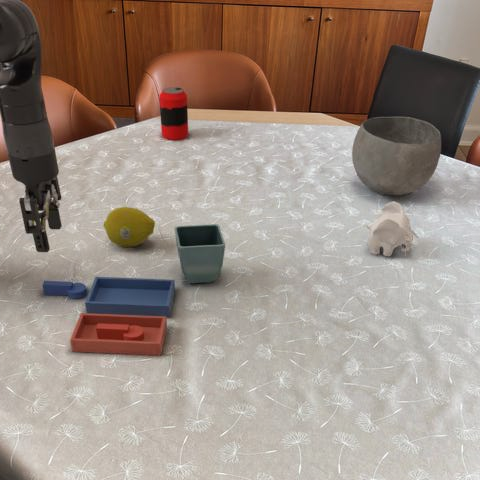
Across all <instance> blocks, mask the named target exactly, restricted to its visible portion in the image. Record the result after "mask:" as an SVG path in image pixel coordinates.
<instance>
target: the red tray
mask: <svg viewBox="0 0 480 480" xmlns="http://www.w3.org/2000/svg"><path fill="white" fill-rule="evenodd" d="M167 318H168V317H165V316H140V315H115V314H91V313H87V312H81V313H80V315H79V317H78V320H77V321H76V324H75V327H74V329H73V332H72V335H71V337H70V339H69V341H70V347H71V352H73V353H74V352H75V353H99V354H120V355H121V354H124V355H145V356H146V355H147V356H162V353H163V349H164V345H165V339H166V334H167V330H168V320H167ZM98 323H100V324H124V325H129V326H132V325H136V326H140V327H142V328H143V330H144V339H143V340H142V341H126V340H118V339H98V338H97V331H96V327H97V324H98Z"/></svg>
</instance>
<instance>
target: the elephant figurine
mask: <svg viewBox="0 0 480 480" xmlns="http://www.w3.org/2000/svg"><path fill="white" fill-rule="evenodd" d="M404 211H405V210H404V208H403V206H402V205H401V203H399V202H397V201H390V202H388V203H386V204H385V205H384V206H383V207H382V208H381V210H380V211H379V214H378V217H377V218H376V219H375V220H374V221H373V223H372V225H370V224H366V223H363V226H365V227H366V228H367V229H369V233H368V237H367V247H368V250H369V253H370V254H373V255H379V254H380V252H381V248H382V249H383V251H382V254H383V256H385V257H391V256H392V255H393V252H394V249H396V248H397V247H398V246H400V251H401V252H404V253H407V252H408V251H409V250H411V248H412V247H413V248H415V249H418V247H417V246H416V245H415V244H414V243H413V241H414V236H415V238H416V239H418V240H421V239H420V237H419V236H418V234H417V233H416V232H415V231H414V229H412V228H411V227H412V226H411V222H410V218H409V216H408V215H406V214H405V212H404Z"/></svg>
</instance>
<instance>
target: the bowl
mask: <svg viewBox="0 0 480 480" xmlns="http://www.w3.org/2000/svg"><path fill="white" fill-rule="evenodd" d="M351 149H352V151H351V159H352V165H353V168H354V171H355V173H356V175H357V177H358V179H359V180H360V182H362V184H363V185H364V186H365V187H367V188H369V189H370V190H372V191H374V192H376V193H378V194H382V195H388V196H402V195H407V194H410V193H413V192H416V191H418V190H420V189H422V187H424V186H425V185H426V184H427V183H428V182H429V181H430V180H431V178H432V177H433V176H434V174H435V171H436V170H437V167H438V164H439V162H440V159H441V153H442V135H441V132H440V130H439V129H438V128H436V126H434V125H433V124H432V123H430V122H428V121H426V120H422V119H418V118H414V117H410V116H376V117H369V118H367V119H366V120H364V121H363V122H362V123H361V124H360V126H359V128H358V130H357V132H356V134H355V137H354V139H353V143H352V148H351Z"/></svg>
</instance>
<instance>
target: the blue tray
mask: <svg viewBox="0 0 480 480" xmlns="http://www.w3.org/2000/svg"><path fill="white" fill-rule="evenodd" d="M175 293H176V280H175V279H163V278H143V277H142V278H140V277H139V278H138V277H117V276H116V277H114V276H94V280H93V282H92V284H91V287H90V289H89V292H88V293H87V296H86V299H85V301H84V305H85V311H86V313H91V314H115V315H140V316H165V317H166V318H170V316H171V312H172V307H173V303H174V298H175Z"/></svg>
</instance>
